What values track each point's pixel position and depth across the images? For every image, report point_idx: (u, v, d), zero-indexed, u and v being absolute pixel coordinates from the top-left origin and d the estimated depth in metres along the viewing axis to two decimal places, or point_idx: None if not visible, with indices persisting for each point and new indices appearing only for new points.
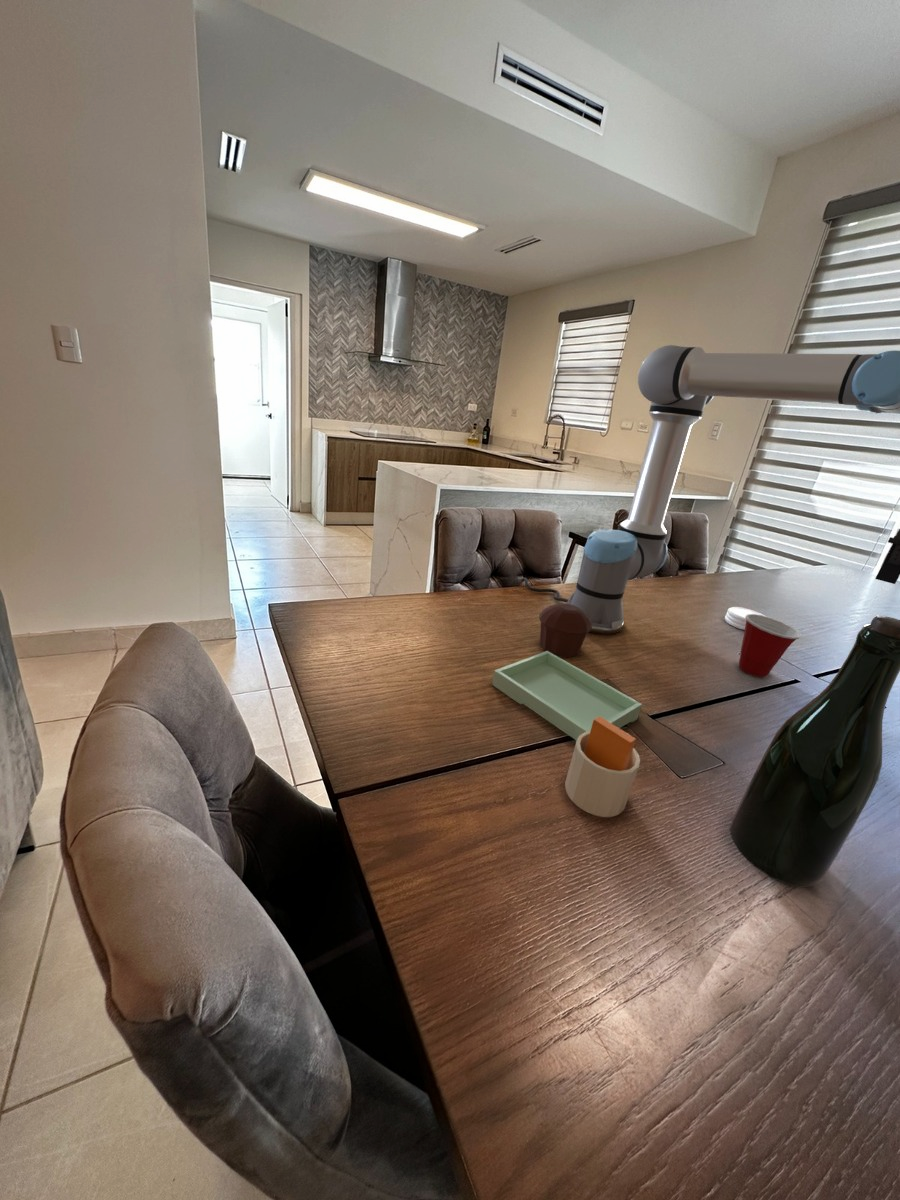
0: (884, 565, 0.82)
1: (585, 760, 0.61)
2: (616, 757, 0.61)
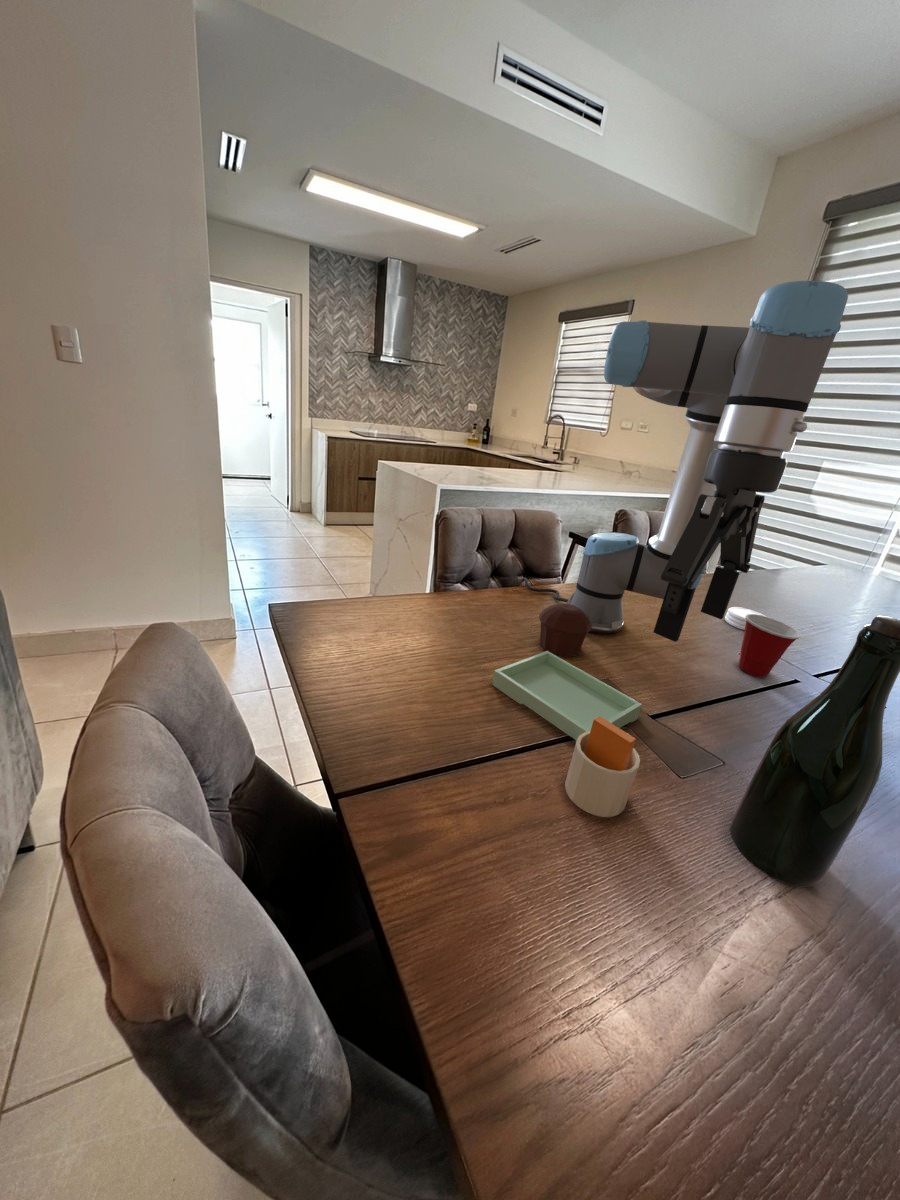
0: (662, 613, 0.55)
1: (585, 760, 0.61)
2: (616, 757, 0.61)
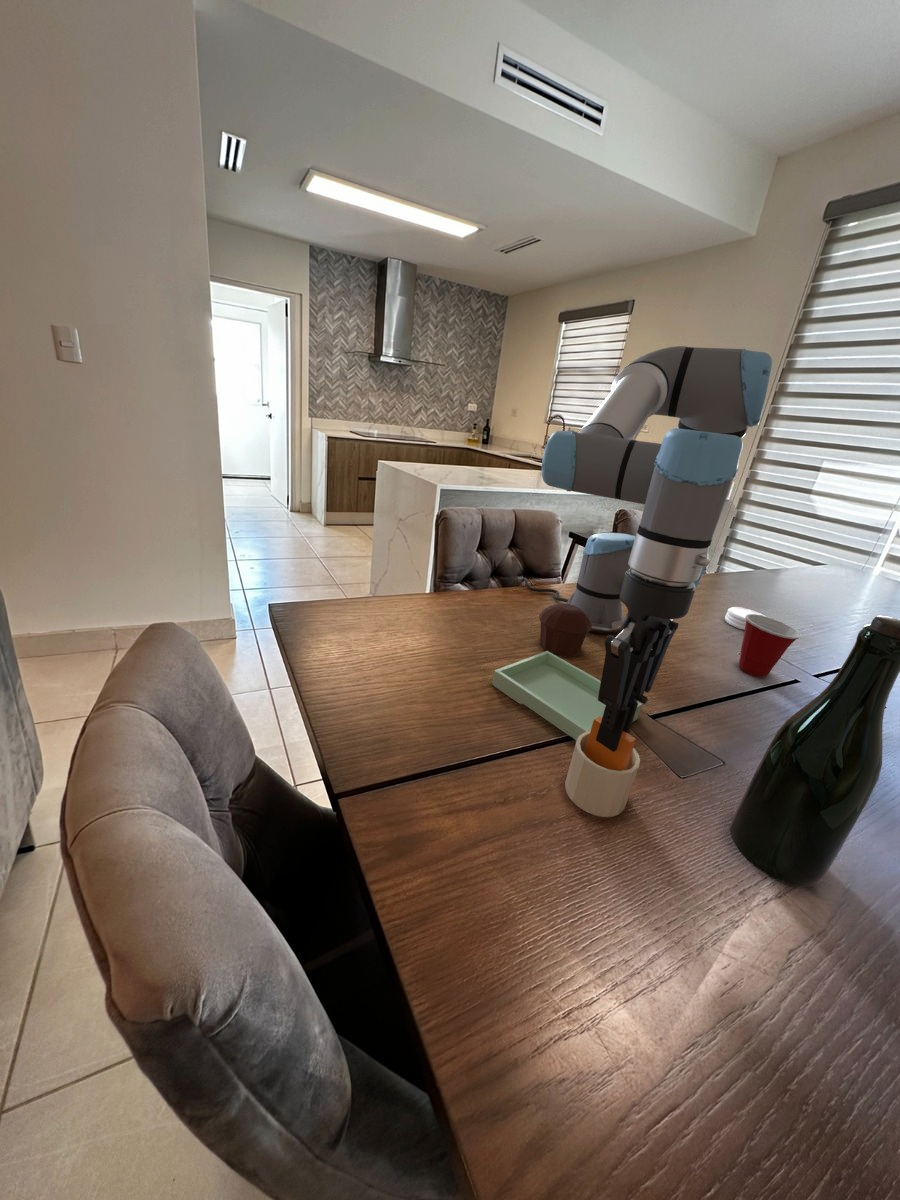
0: (603, 725, 0.61)
1: (585, 760, 0.61)
2: (616, 757, 0.61)
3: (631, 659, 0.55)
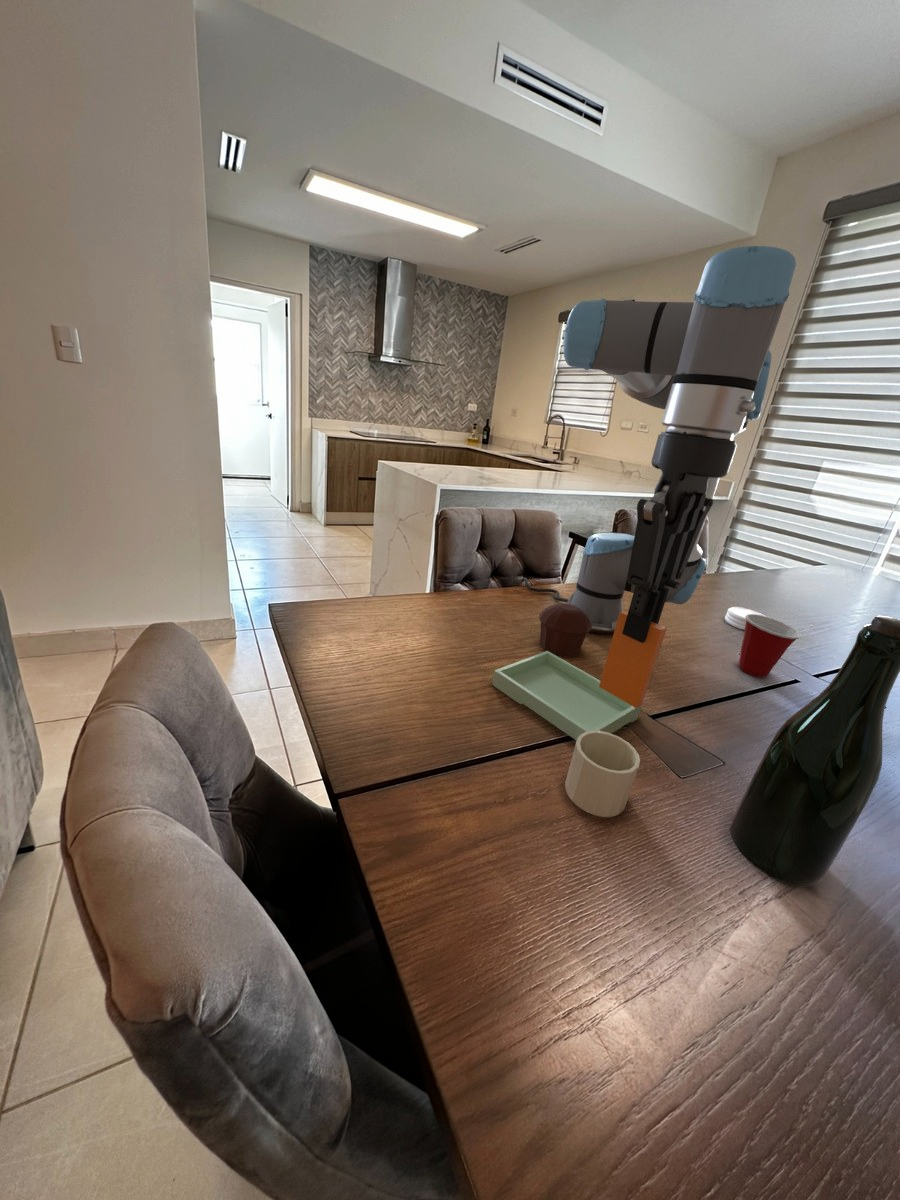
0: (630, 615, 0.56)
1: (585, 760, 0.61)
2: (645, 650, 0.56)
3: (664, 531, 0.51)
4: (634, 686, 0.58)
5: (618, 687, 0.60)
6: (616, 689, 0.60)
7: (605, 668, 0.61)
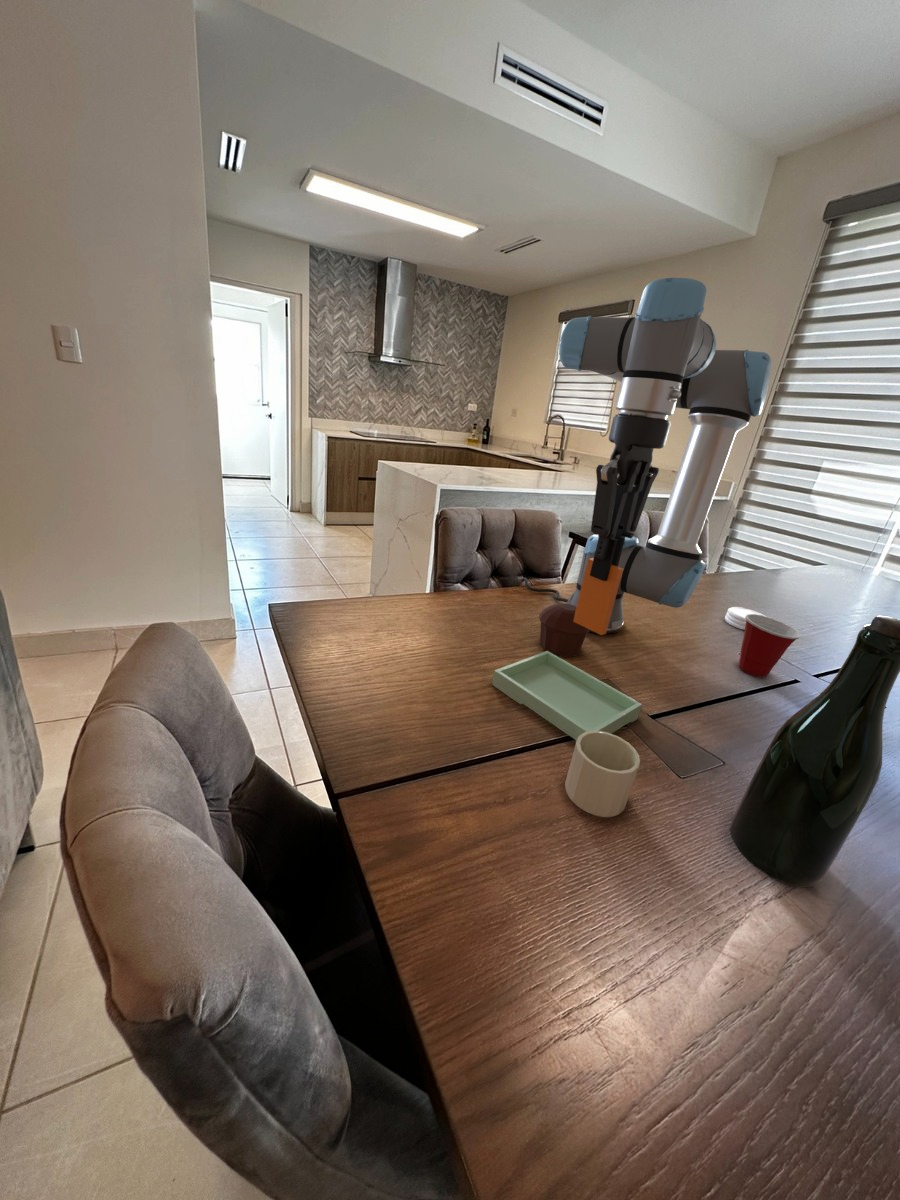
0: (595, 560, 0.72)
1: (585, 760, 0.61)
2: (607, 587, 0.72)
3: (618, 491, 0.66)
4: (599, 617, 0.74)
5: (588, 619, 0.76)
6: (586, 622, 0.76)
7: (577, 605, 0.77)
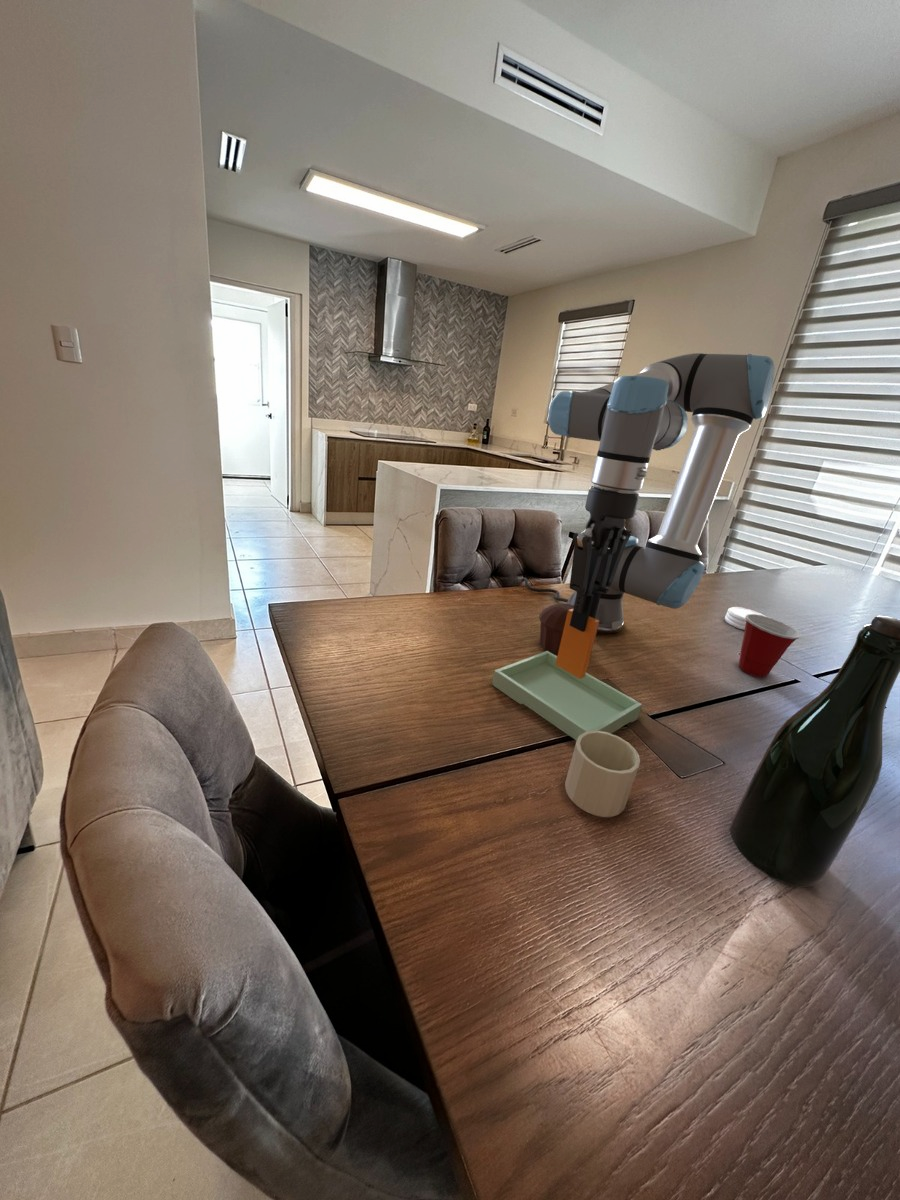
0: (574, 612, 0.79)
1: (585, 760, 0.61)
2: (584, 636, 0.79)
3: (594, 554, 0.74)
4: (578, 663, 0.81)
5: (568, 664, 0.83)
6: (567, 666, 0.83)
7: (559, 651, 0.84)
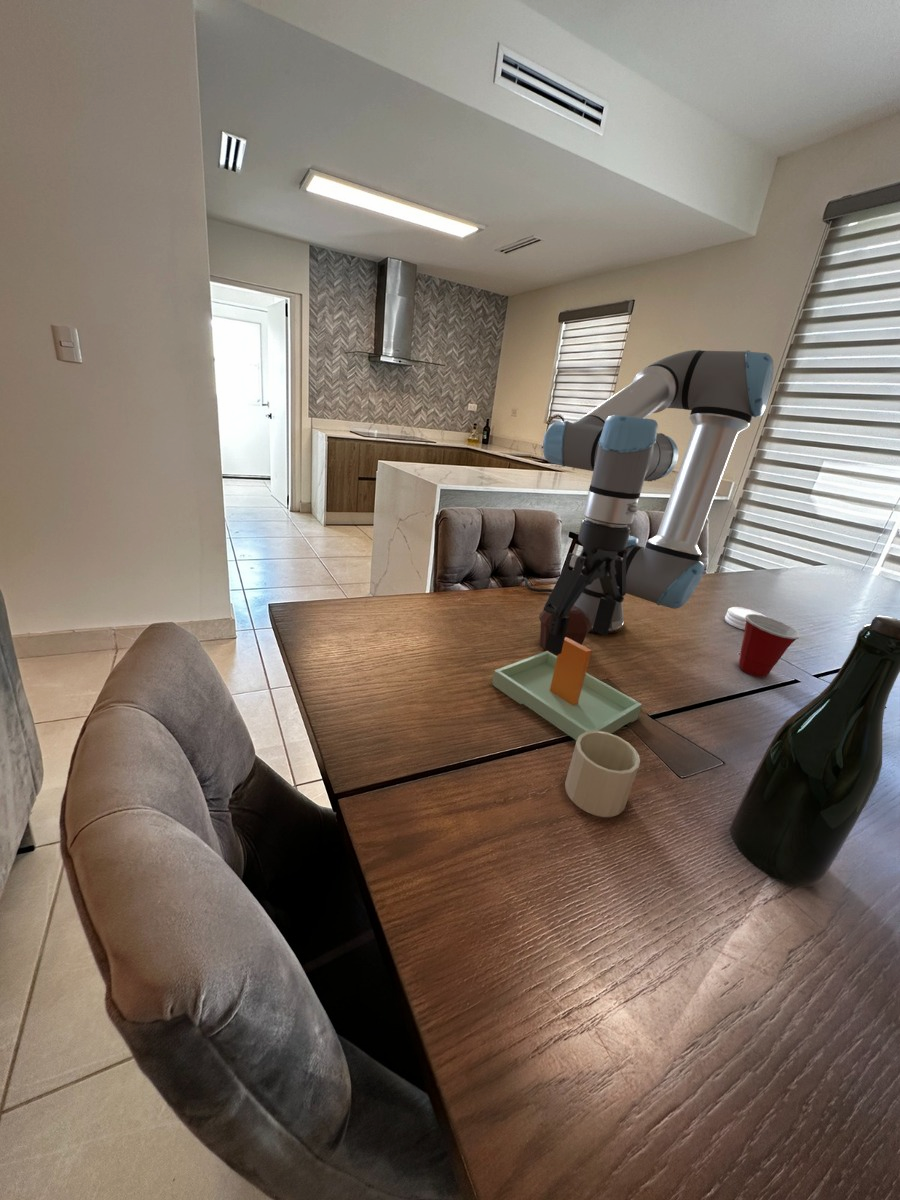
0: (550, 634, 0.77)
1: (585, 760, 0.61)
2: (577, 665, 0.82)
3: (581, 579, 0.74)
4: (571, 690, 0.84)
5: (562, 690, 0.85)
6: (560, 692, 0.86)
7: (553, 677, 0.86)
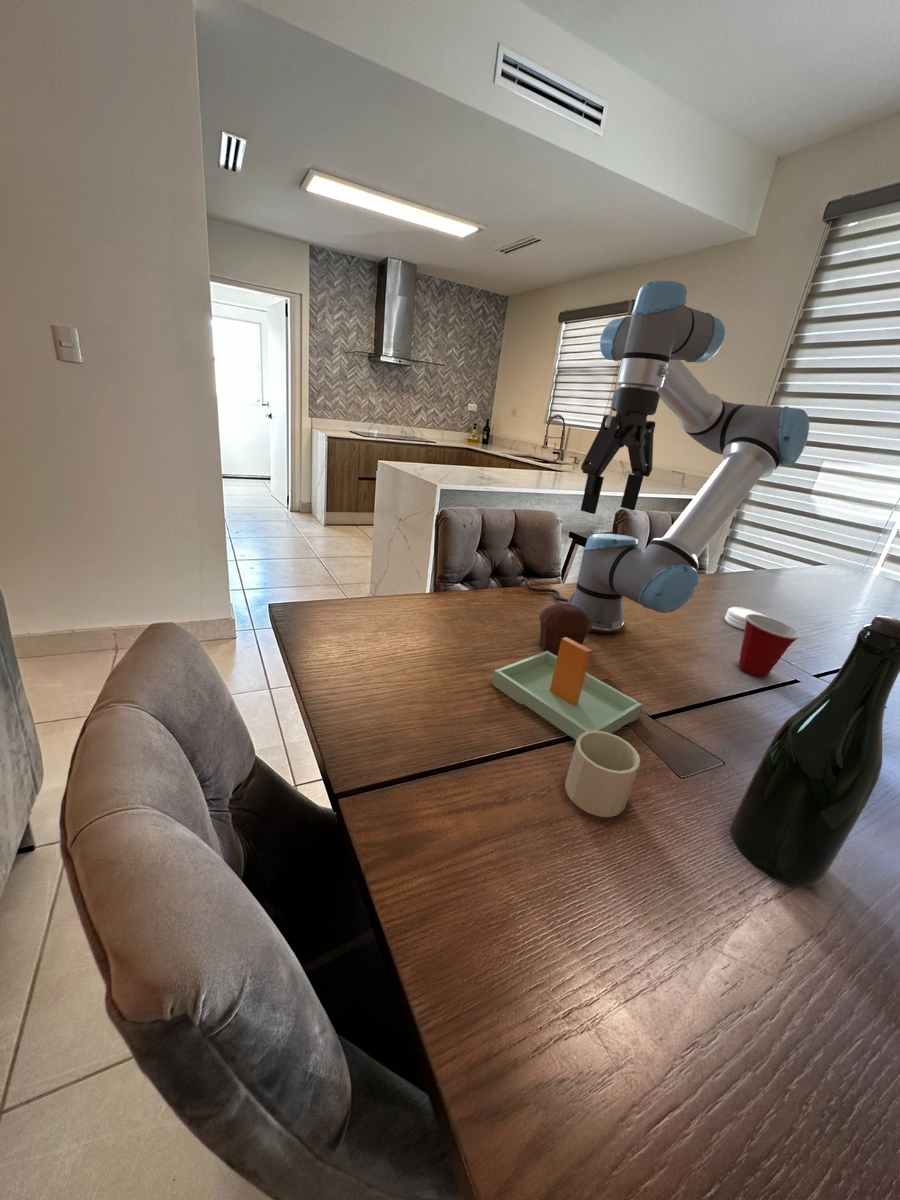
0: (585, 496, 0.85)
1: (585, 760, 0.61)
2: (577, 665, 0.82)
3: (614, 442, 0.82)
4: (571, 690, 0.84)
5: (562, 690, 0.85)
6: (560, 692, 0.86)
7: (553, 677, 0.86)
